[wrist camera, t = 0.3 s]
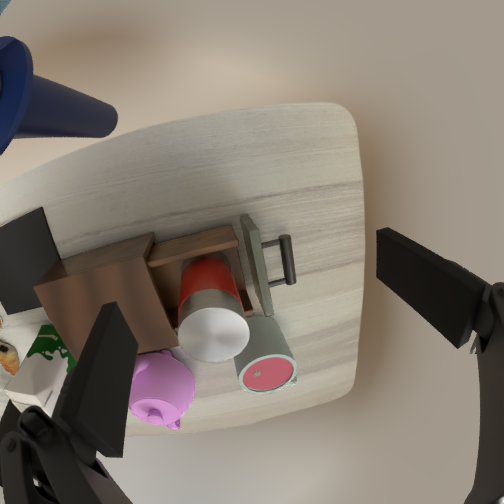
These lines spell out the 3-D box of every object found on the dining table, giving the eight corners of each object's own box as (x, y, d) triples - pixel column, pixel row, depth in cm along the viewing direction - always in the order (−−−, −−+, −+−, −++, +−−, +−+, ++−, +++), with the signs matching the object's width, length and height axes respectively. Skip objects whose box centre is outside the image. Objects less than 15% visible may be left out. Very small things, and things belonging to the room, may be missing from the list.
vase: (44, 395, 45) (17, 491, 18) (47, 414, 48) (27, 500, 21) (12, 378, 42) (-22, 468, 15) (18, 399, 44) (-9, 480, 17)
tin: (175, 254, 37) (166, 316, 24) (224, 241, 38) (242, 298, 24) (189, 296, 40) (190, 368, 26) (235, 285, 41) (256, 353, 27)
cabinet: (153, 232, 37) (142, 255, 29) (180, 310, 43) (179, 345, 35) (57, 261, 36) (32, 286, 28) (90, 329, 41) (76, 362, 33)
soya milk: (54, 356, 42) (24, 431, 24) (36, 321, 38) (-7, 395, 20) (88, 357, 43) (62, 440, 25) (71, 320, 40) (30, 403, 22)
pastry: (24, 374, 42) (19, 384, 38) (4, 364, 40) (-1, 374, 37) (16, 346, 39) (9, 357, 36) (-4, 336, 37) (-12, 346, 34)
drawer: (277, 207, 39) (293, 220, 32) (289, 283, 44) (304, 305, 38) (135, 243, 37) (124, 262, 30) (162, 314, 42) (159, 342, 35)
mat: (-24, 240, 30) (-25, 241, 29) (42, 206, 32) (40, 207, 31) (8, 313, 36) (7, 315, 36) (77, 296, 38) (76, 298, 38)
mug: (219, 339, 47) (226, 380, 38) (257, 306, 45) (272, 344, 36) (268, 370, 52) (281, 407, 43) (303, 343, 51) (322, 378, 42)
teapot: (99, 336, 42) (81, 386, 31) (166, 316, 43) (161, 370, 32) (149, 401, 50) (147, 448, 39) (209, 388, 51) (215, 437, 40)
